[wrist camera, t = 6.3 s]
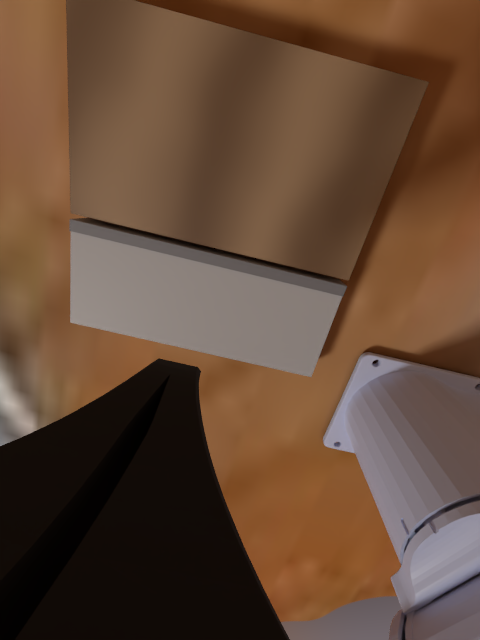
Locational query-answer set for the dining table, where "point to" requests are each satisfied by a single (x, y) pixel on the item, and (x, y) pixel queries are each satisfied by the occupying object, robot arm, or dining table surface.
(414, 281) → the dining table surface
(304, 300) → the grey board
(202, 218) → the walnut plank
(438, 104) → the dining table surface
